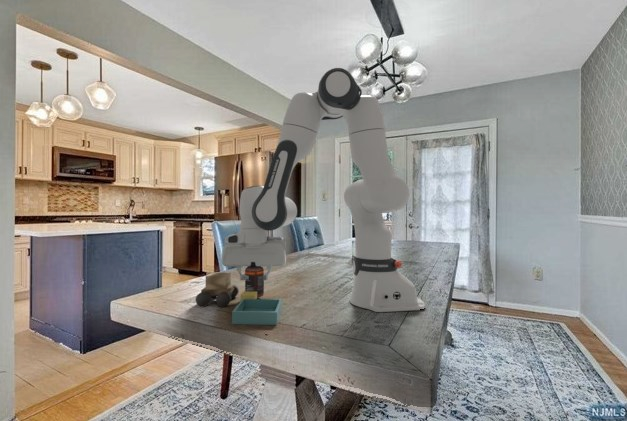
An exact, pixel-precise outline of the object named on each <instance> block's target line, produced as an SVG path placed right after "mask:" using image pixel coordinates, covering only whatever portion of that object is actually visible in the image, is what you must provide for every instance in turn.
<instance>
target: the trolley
mask: <svg viewBox="0 0 627 421" xmlns="http://www.w3.org/2000/svg"><path fill="white" fill-rule="evenodd" d="M231 274H232V273H231V272H224V271H223V272H218V271H217V272H213V271H212V272H210V273H209V274H207V275H206V276H205V287H204V288H202V289H201V290H200V291H201V292H200V293H198V294H197V295H196V296H195V303H196V305H197V306H199V307H206V306H207V305H208V304H210V303H211V301H212V299H213V298H214V299H215V303H216V304H217V306H219V307H220V308H225V307H228V305H229V304H230V303H231V302H232V299H233V298H236V296H237V295H238V294H239V291H240V290H239V287H238V286H237V285H235V284H232V283H231V282H232V280H231V278H232V276H231Z"/></svg>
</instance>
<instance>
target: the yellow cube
mask: <svg viewBox="0 0 627 421" xmlns="http://www.w3.org/2000/svg"><path fill="white" fill-rule="evenodd" d="M242 299H258V298H257V292H249V291H245V290H243V291H242V293H241V294H240V301H241V300H242Z"/></svg>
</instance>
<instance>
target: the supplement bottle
mask: <svg viewBox="0 0 627 421" xmlns="http://www.w3.org/2000/svg"><path fill="white" fill-rule="evenodd" d="M264 272H265V269H264V266H256V264H255V262H251V265H250V266H246V267H245V269H244V274H245V280H244V291H249V292H257V299H259V298H261V297H263V296H264V295H265V285H264V284H265V280H263V275H264V274H265V273H264Z"/></svg>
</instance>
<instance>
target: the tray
mask: <svg viewBox="0 0 627 421" xmlns="http://www.w3.org/2000/svg"><path fill="white" fill-rule="evenodd" d="M282 311H283V299H282V298H257V299H242V300H241V299H240V301H239V303H238V304H236V306H235V307H234V309H233V310H232V312H231V325H258V326H259V325H261V326H262V325H263V326H264V325H267V326H268V325H270V326H274V325H275V326H278V323H279V320H280V317H281V314H282Z"/></svg>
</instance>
